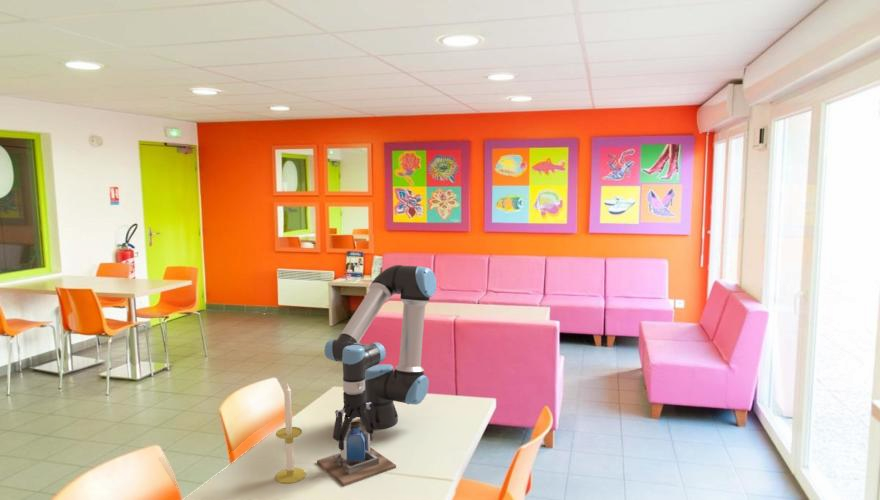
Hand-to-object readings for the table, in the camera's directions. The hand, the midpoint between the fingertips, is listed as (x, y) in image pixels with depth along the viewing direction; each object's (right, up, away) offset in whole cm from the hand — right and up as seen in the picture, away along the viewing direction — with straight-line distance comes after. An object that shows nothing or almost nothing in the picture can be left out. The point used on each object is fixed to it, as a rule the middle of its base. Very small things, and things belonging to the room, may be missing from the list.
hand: (355, 454), depth 204 cm
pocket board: (0, -4, +1) cm, 4 cm away
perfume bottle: (0, -1, 0) cm, 1 cm away
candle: (-21, -5, -7) cm, 22 cm away
